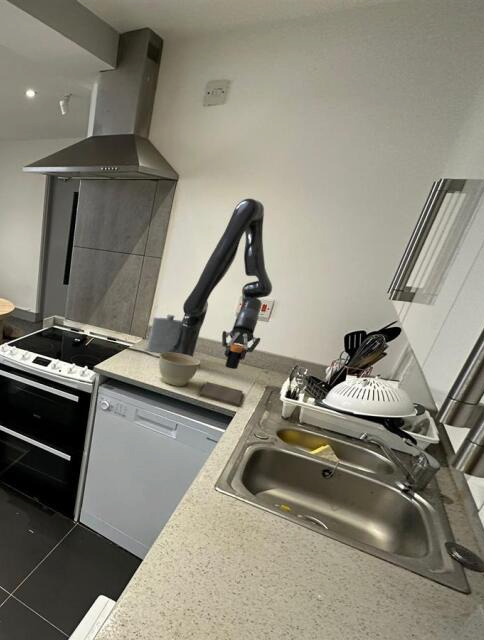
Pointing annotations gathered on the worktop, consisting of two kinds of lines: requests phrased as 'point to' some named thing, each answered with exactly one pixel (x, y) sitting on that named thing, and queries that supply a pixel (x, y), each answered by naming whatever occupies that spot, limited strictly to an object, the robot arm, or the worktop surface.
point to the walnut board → (221, 393)
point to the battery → (234, 356)
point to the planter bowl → (177, 368)
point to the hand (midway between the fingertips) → (234, 357)
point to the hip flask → (163, 334)
